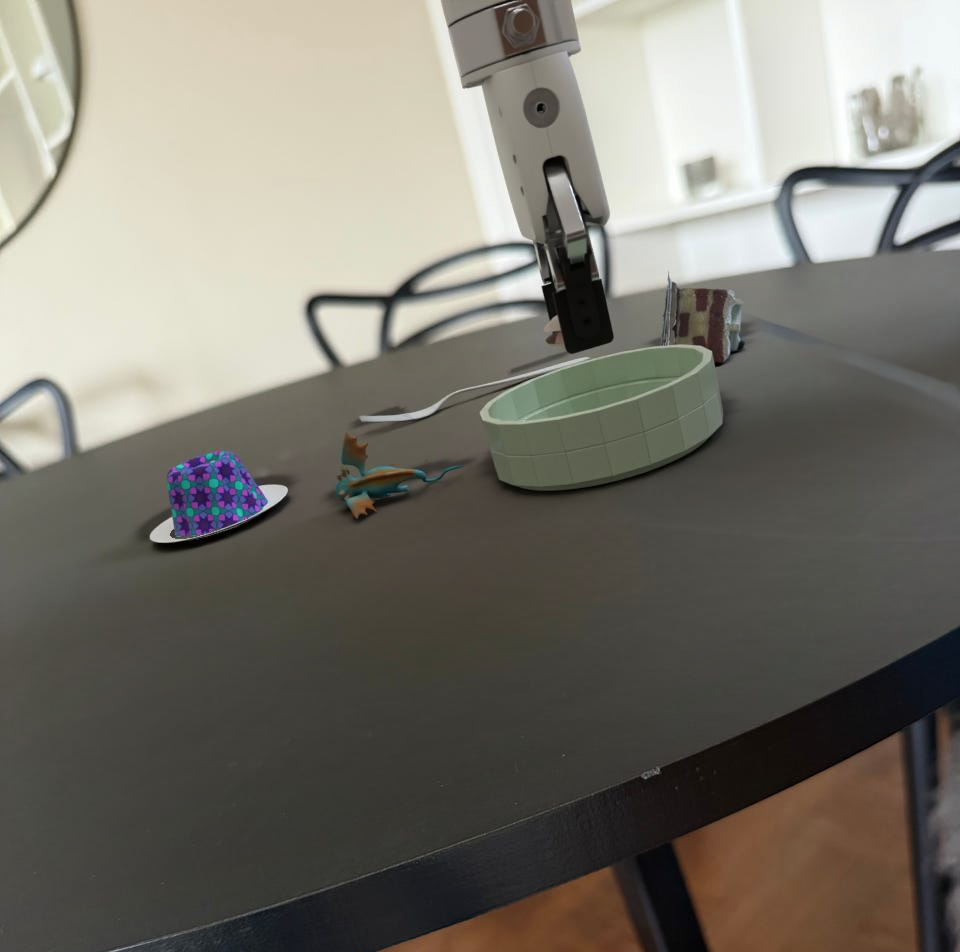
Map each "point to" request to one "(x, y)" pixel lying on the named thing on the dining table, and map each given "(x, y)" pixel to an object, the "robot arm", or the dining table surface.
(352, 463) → the dragon figurine
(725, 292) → the chocolate cake
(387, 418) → the fork
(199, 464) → the purple patterned hat
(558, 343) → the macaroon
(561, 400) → the bowl
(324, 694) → the dining table surface
